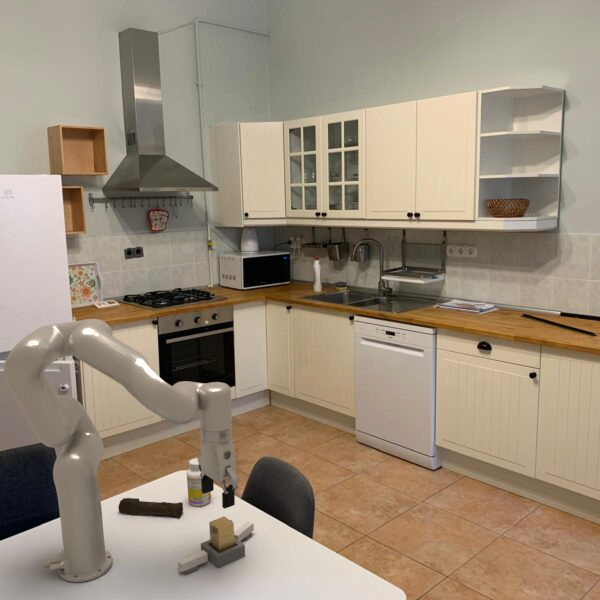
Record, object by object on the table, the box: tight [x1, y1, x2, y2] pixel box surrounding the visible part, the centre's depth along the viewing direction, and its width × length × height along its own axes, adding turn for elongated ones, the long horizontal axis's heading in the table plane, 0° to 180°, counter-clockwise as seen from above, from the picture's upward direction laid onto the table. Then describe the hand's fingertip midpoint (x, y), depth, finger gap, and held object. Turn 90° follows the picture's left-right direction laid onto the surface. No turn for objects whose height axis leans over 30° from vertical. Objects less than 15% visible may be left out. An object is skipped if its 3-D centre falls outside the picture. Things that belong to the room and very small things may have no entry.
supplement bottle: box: [186, 457, 212, 507], centre depth 186 cm, size 7×7×13 cm
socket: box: [177, 521, 255, 575], centre depth 159 cm, size 9×24×3 cm, turn 129°
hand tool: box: [117, 497, 184, 519], centre depth 181 cm, size 19×4×5 cm, turn 79°
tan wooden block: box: [208, 515, 235, 553], centre depth 158 cm, size 4×6×9 cm
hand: (217, 499), depth 156 cm, fingers open, 9 cm apart
